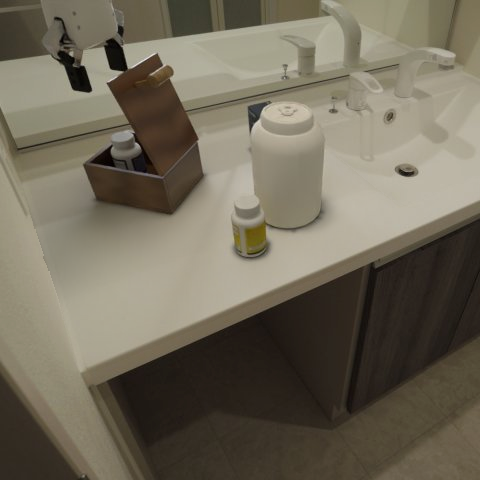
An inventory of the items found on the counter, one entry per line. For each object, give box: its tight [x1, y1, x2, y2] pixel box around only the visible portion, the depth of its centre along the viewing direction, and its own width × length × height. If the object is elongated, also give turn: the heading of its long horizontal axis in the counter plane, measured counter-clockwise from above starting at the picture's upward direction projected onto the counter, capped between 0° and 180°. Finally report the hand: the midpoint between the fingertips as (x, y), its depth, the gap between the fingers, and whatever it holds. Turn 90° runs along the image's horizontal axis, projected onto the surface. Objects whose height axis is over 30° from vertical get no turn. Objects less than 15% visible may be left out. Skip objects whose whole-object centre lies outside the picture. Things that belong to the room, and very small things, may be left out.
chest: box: [82, 129, 204, 215], centre depth 80 cm, size 16×14×8 cm
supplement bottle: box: [230, 193, 268, 258], centre depth 68 cm, size 5×5×10 cm
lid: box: [106, 52, 200, 177], centre depth 71 cm, size 16×14×5 cm
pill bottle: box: [109, 131, 148, 174], centre depth 80 cm, size 5×5×10 cm
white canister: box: [249, 100, 326, 229], centre depth 73 cm, size 12×12×20 cm
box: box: [247, 100, 273, 135], centre depth 91 cm, size 8×6×11 cm
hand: (102, 80), depth 69 cm, fingers open, 9 cm apart
